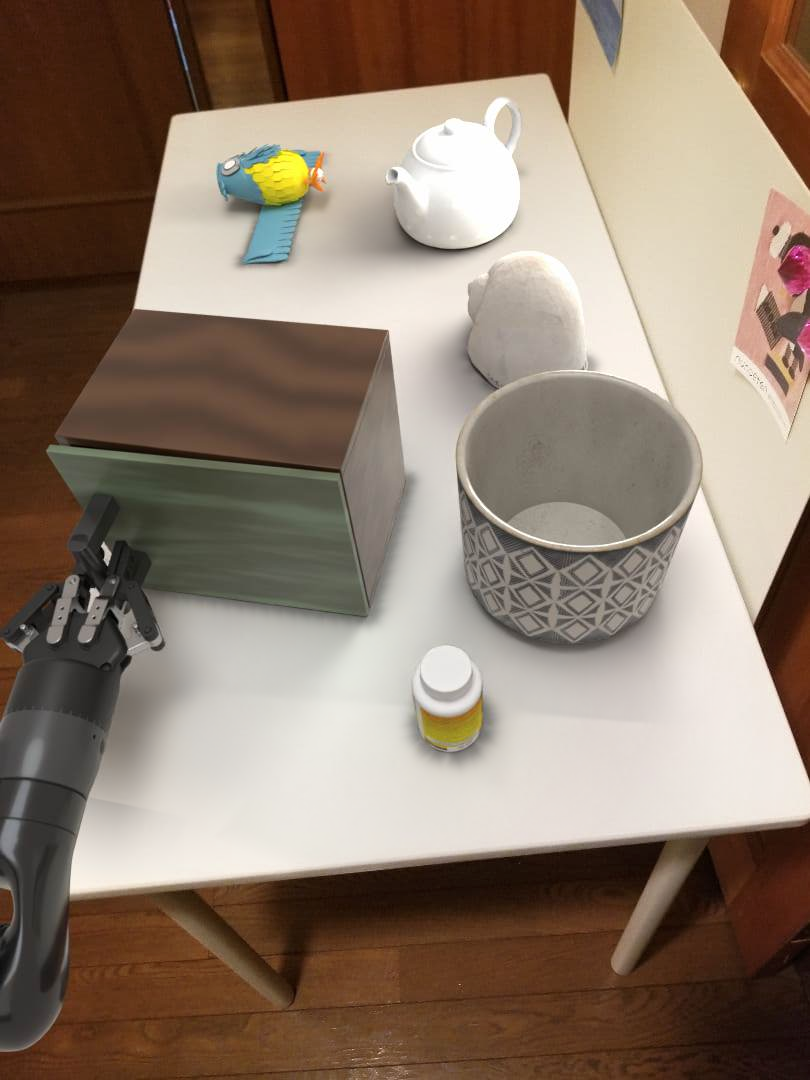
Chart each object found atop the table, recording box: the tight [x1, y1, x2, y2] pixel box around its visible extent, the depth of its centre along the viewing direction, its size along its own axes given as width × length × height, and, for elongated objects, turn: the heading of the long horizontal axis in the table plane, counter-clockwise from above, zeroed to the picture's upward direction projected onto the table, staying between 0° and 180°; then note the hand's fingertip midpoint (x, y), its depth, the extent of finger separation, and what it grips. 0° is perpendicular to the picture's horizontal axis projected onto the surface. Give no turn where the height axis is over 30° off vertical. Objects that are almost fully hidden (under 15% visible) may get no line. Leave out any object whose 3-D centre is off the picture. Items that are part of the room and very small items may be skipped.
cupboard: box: [54, 308, 407, 609], centre depth 75 cm, size 16×24×20 cm, turn 78°
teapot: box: [384, 96, 523, 250], centre depth 108 cm, size 19×18×14 cm
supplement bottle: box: [411, 644, 484, 753], centre depth 65 cm, size 6×6×10 cm
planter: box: [455, 370, 704, 644], centre depth 71 cm, size 19×19×16 cm
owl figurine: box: [216, 143, 327, 265], centre depth 115 cm, size 28×9×15 cm
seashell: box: [467, 250, 589, 389], centre depth 93 cm, size 15×14×15 cm
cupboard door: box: [45, 444, 370, 617], centre depth 68 cm, size 7×24×20 cm, turn 79°
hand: (110, 546), depth 70 cm, fingers closed on cupboard door, 2 cm apart
